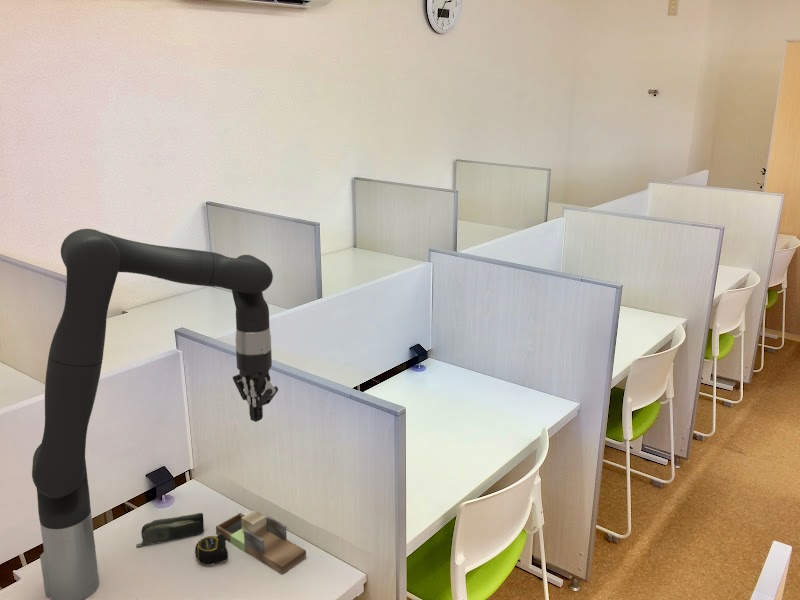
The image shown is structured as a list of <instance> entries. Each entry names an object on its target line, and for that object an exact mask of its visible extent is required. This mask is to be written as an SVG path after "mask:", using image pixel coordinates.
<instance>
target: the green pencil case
mask: <svg viewBox="0 0 800 600" xmlns="http://www.w3.org/2000/svg"><path fill="white" fill-rule="evenodd" d="M204 526H205V525H204V514H203V513H202V512H199V513H193V514H187V515H181V516H176V517H169V518H168V517H167V518H159V519H155V520H153V521H151V522H147V523H146V524H144V525H143V526H142V527H141V530H140V531H141V532H140V533H141V539H142V542H141V543H137V544H135V545H136V548H140V547H145V546H149V545H154V544H159V542H160V543H164V542H169V540H170V541H173V540H174V539H175V540H180V539H186V538H191V537H196V536H199V535H201V534H203V533H204V529H205V527H204Z"/></svg>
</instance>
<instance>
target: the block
mask: <svg viewBox="0 0 800 600" xmlns="http://www.w3.org/2000/svg"><path fill="white" fill-rule="evenodd" d="M244 515H245V516H243V517H242V518H241V520H242V533H243V534H244V530H248V531H250V532H251V533H253V534H255V535H257V536H258V537H259V536H260V535H262V534H264V533H265V532H267V517H268V516H266V515H265V514H263V513H261V512H260V511H258V510H256V509H254V510H252V511H251V512H249V513H247V514H244Z"/></svg>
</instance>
